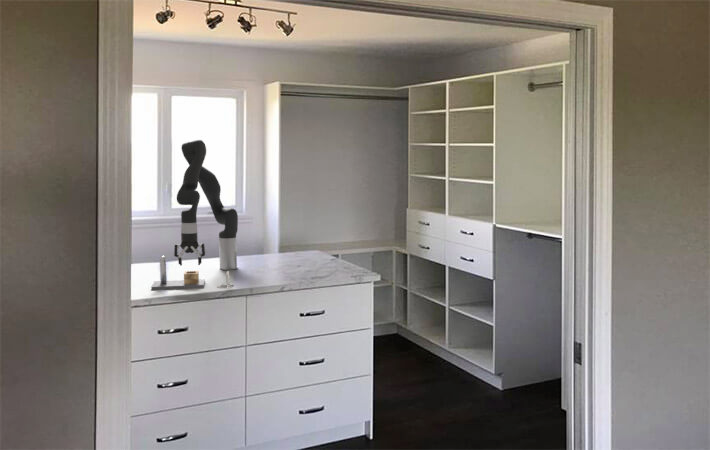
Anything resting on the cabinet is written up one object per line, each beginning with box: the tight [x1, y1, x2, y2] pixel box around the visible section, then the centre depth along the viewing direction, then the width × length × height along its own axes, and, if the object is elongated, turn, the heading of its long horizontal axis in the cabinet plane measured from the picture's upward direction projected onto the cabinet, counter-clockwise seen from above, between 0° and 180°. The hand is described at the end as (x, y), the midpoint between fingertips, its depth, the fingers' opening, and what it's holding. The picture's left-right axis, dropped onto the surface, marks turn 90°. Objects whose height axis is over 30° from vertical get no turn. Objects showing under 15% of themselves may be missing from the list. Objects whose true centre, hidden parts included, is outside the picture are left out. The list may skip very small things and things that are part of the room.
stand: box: [216, 270, 235, 289], centre depth 305 cm, size 8×5×8 cm
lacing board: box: [150, 278, 206, 291], centre depth 306 cm, size 24×12×2 cm, turn 100°
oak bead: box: [183, 270, 200, 284], centre depth 307 cm, size 6×6×5 cm
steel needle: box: [159, 255, 168, 284], centre depth 304 cm, size 3×3×13 cm
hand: (190, 265), depth 306 cm, fingers open, 8 cm apart
